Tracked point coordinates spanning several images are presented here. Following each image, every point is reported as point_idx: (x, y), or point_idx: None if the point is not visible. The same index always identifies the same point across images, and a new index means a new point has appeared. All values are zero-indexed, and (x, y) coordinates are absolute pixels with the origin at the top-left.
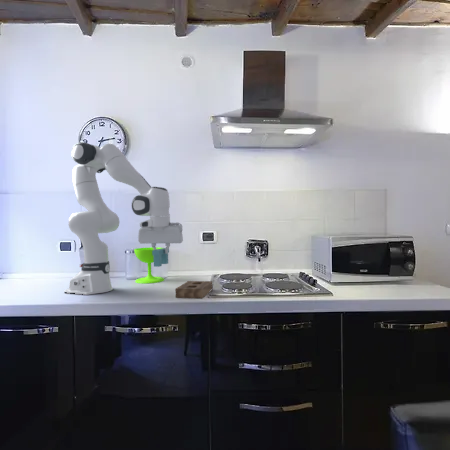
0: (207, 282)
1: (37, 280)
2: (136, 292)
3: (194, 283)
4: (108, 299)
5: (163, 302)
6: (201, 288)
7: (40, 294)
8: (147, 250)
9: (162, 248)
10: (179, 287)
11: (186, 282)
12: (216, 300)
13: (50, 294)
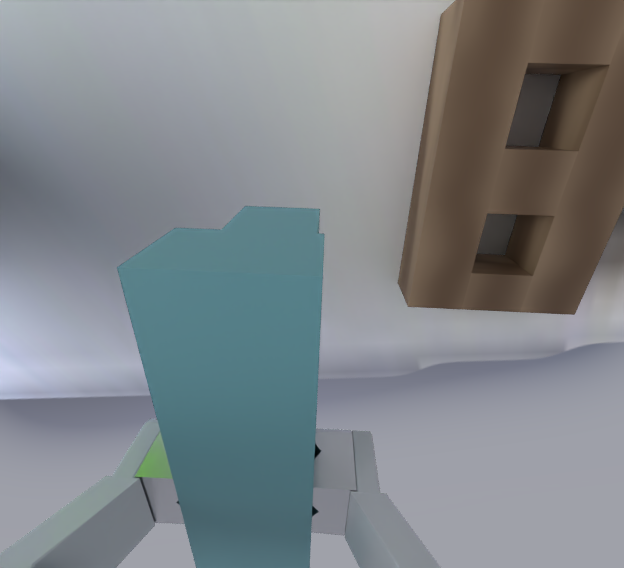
0: None
1: None
2: (110, 165)
3: (524, 64)
4: (88, 325)
5: (361, 360)
6: (573, 298)
7: None
8: None
9: (179, 371)
10: (427, 275)
11: (456, 80)
12: (612, 321)
13: None
